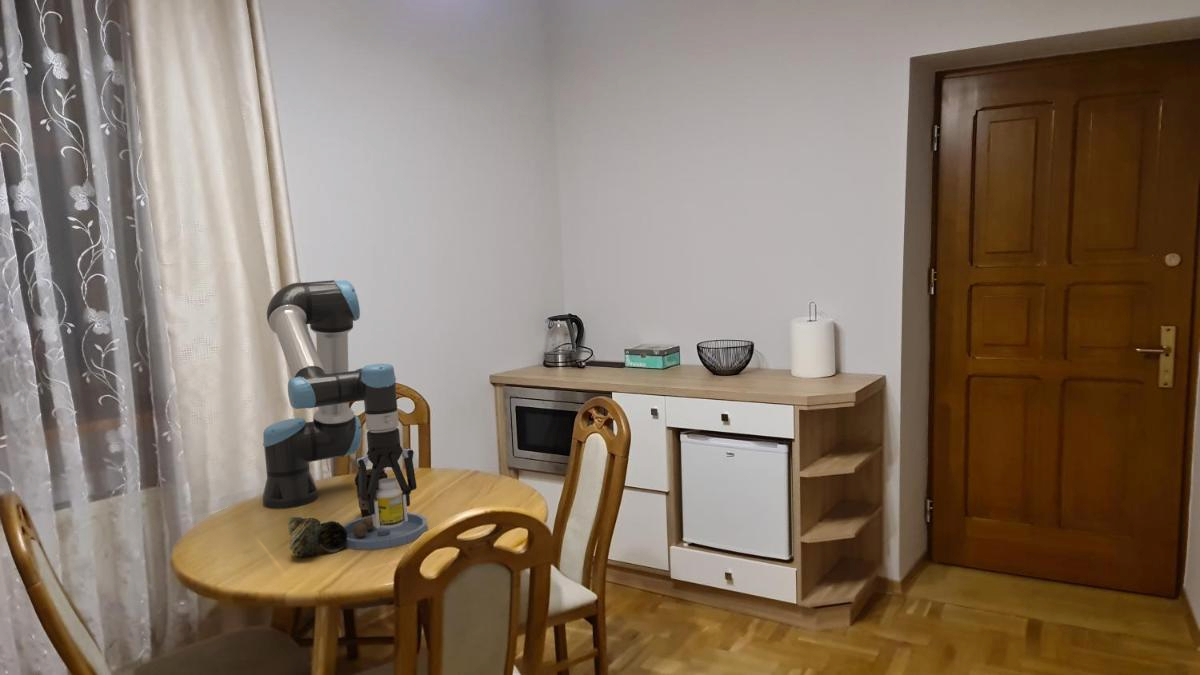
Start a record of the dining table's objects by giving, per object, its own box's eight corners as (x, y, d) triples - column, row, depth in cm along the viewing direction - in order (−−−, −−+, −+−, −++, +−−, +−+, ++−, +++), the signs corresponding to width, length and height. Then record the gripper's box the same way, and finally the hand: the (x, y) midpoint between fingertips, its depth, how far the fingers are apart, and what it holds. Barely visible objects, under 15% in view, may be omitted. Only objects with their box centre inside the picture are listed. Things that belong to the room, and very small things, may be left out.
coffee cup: (380, 524, 207) (376, 475, 205) (351, 524, 208) (347, 475, 207) (395, 513, 215) (392, 466, 214) (367, 513, 217) (363, 466, 215)
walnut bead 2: (360, 530, 200) (359, 516, 200) (373, 527, 202) (372, 513, 202) (364, 533, 198) (363, 520, 197) (378, 530, 200) (377, 517, 199)
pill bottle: (372, 525, 192) (369, 481, 191) (396, 519, 196) (392, 475, 195) (385, 531, 187) (381, 485, 186) (408, 524, 192) (405, 479, 190)
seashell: (328, 566, 179) (324, 523, 178) (282, 565, 182) (278, 522, 181) (351, 549, 190) (347, 508, 189) (307, 548, 192) (304, 507, 191)
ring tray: (328, 536, 200) (327, 525, 199) (408, 517, 211) (407, 506, 211) (355, 560, 182) (354, 548, 182) (440, 537, 194) (440, 526, 194)
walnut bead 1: (351, 536, 196) (350, 523, 196) (365, 533, 198) (364, 519, 198) (355, 540, 193) (354, 526, 193) (370, 537, 195) (368, 523, 195)
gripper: (347, 438, 181) (356, 536, 183) (426, 424, 192) (434, 517, 194) (337, 433, 187) (346, 528, 189) (415, 420, 198) (422, 510, 200)
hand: (390, 523), depth 192 cm, fingers closed on pill bottle, 6 cm apart
